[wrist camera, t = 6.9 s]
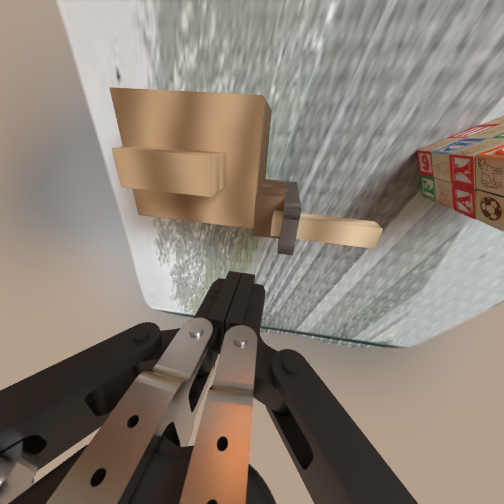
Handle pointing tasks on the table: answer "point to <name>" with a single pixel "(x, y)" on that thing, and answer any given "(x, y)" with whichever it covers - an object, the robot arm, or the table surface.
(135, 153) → the lid
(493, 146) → the stack of blocks
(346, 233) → the light wooden plank
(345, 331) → the table surface
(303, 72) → the table surface
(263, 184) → the brown wooden box
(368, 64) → the table surface
